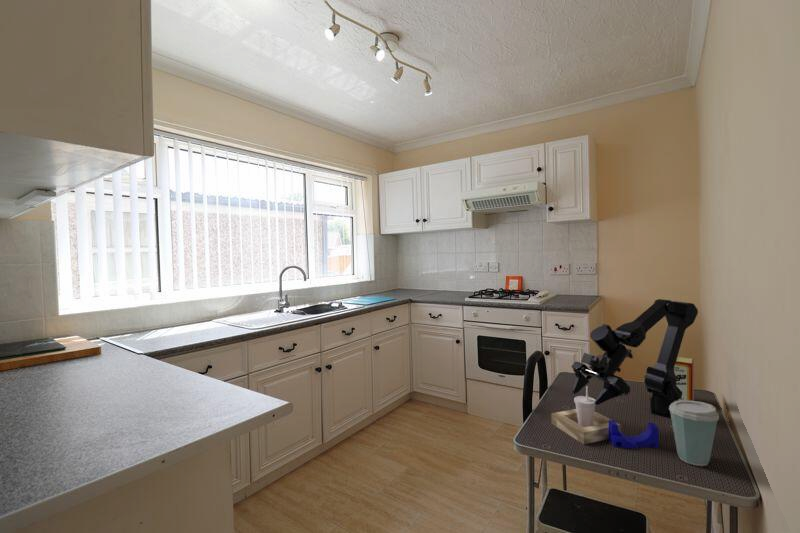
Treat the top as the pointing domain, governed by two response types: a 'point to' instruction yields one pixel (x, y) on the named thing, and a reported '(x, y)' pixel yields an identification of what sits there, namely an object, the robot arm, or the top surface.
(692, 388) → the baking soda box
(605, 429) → the bottle stand
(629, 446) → the cable clip
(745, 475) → the top surface
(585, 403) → the smoothie
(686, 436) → the disposable coffee cup
